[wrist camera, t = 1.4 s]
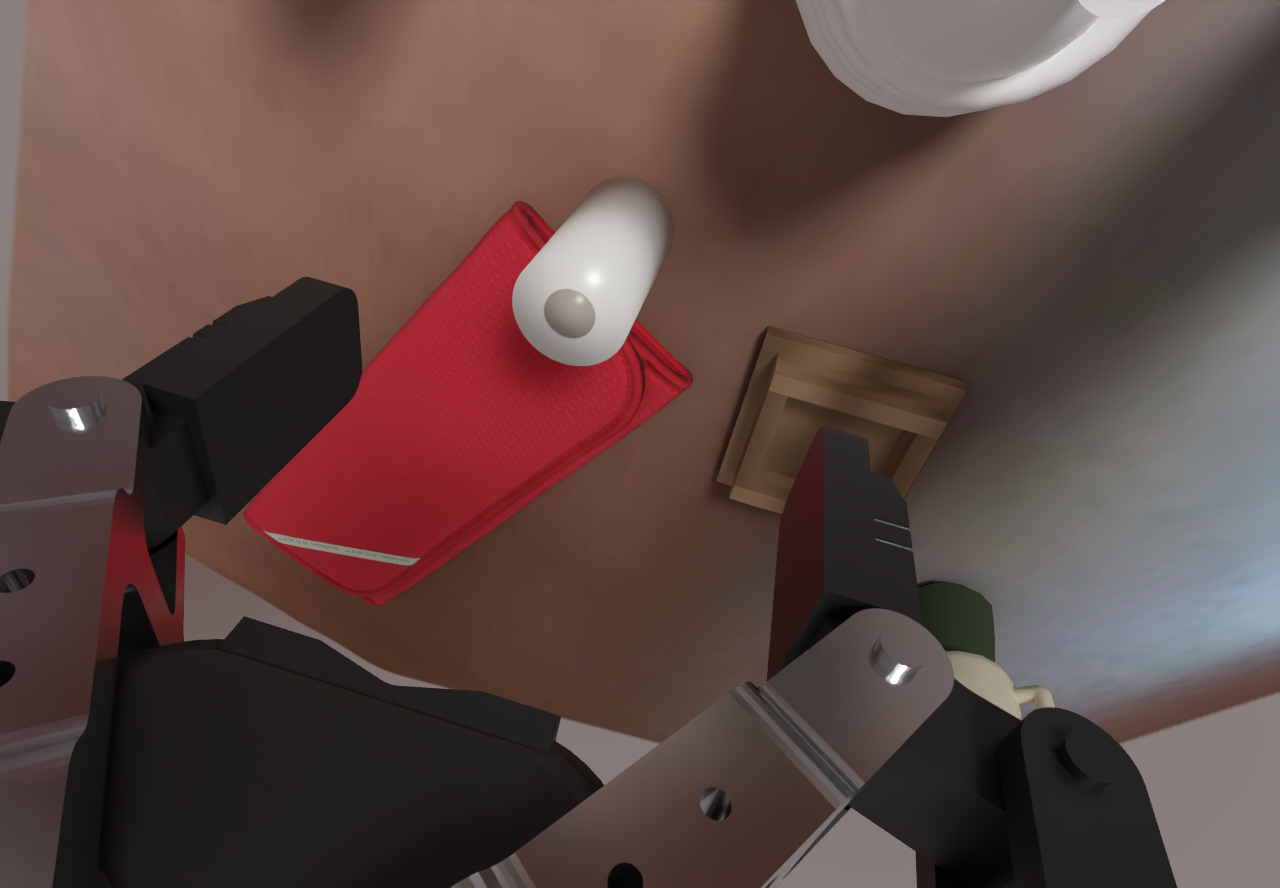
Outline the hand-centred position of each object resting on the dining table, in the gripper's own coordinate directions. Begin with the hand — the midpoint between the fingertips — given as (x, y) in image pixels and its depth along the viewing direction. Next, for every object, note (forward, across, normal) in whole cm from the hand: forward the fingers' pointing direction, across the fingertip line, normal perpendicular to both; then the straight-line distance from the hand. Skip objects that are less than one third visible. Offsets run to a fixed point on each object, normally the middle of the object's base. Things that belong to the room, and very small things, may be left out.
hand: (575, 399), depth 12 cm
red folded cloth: (+31, +16, +30) cm, 46 cm away
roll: (+29, +4, +9) cm, 31 cm away
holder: (+29, -11, +18) cm, 36 cm away
